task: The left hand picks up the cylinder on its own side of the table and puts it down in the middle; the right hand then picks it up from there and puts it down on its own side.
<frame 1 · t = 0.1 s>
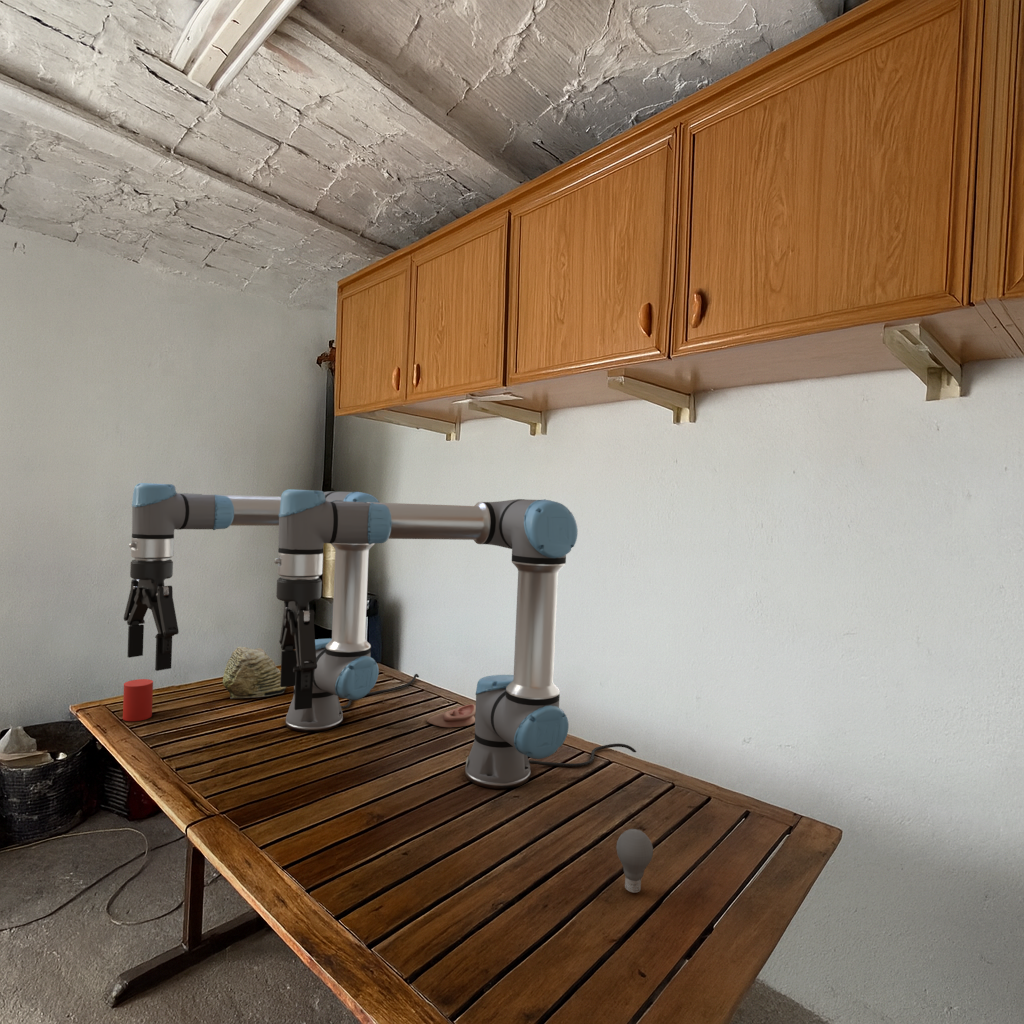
left hand: (148, 662, 129), 28 cm above the table, tool pointing down, fingers open, 13 cm apart
right hand: (295, 696, 112), 28 cm above the table, tool pointing down, fingers open, 13 cm apart
light bulb: (632, 891, 106), on the table
cylinder: (137, 717, 175), on the table
anatomical model: (451, 721, 182), on the table
fossil: (254, 694, 198), on the table
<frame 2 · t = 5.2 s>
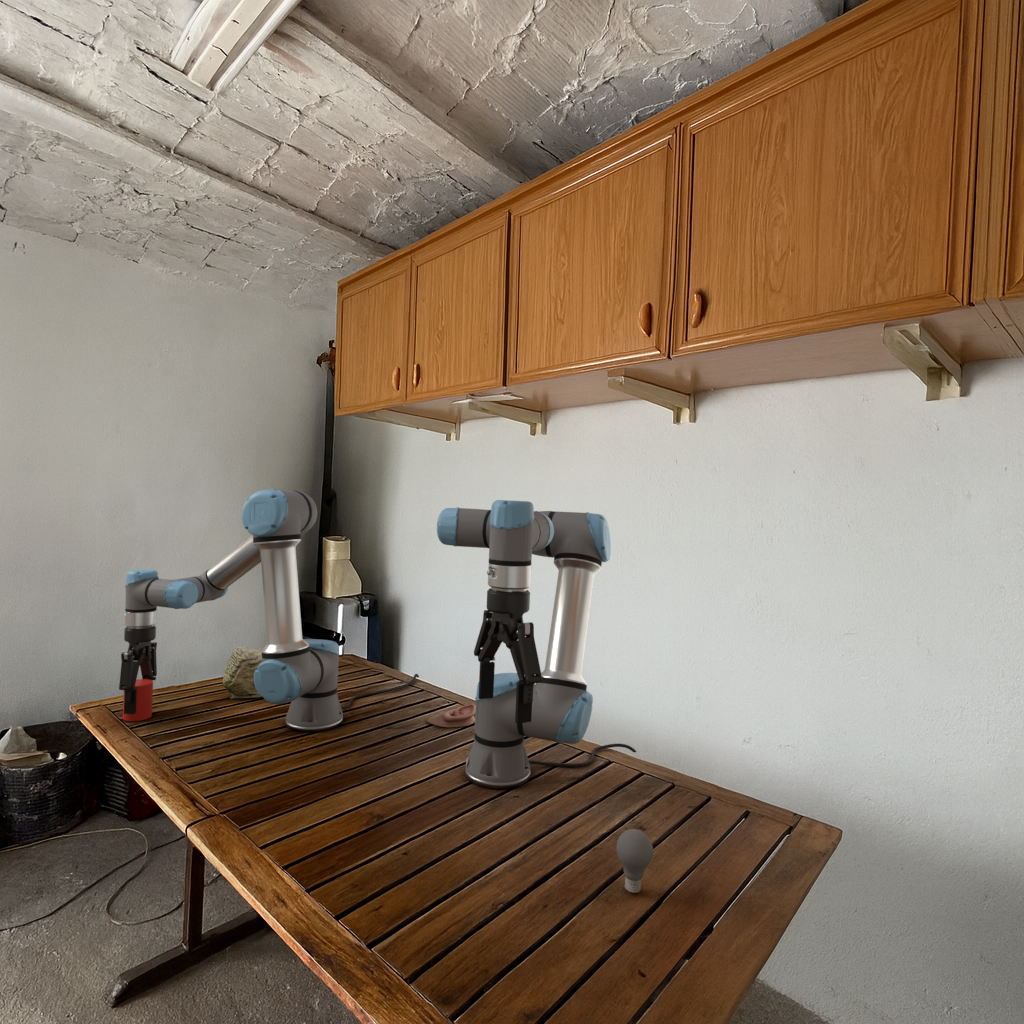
left hand: (137, 708, 175), 2 cm above the table, tool pointing down, fingers closed on cylinder, 7 cm apart
right hand: (503, 709, 111), 28 cm above the table, tool pointing down, fingers open, 13 cm apart
cylinder: (137, 717, 175), on the table, touching left hand
everything else where it was.
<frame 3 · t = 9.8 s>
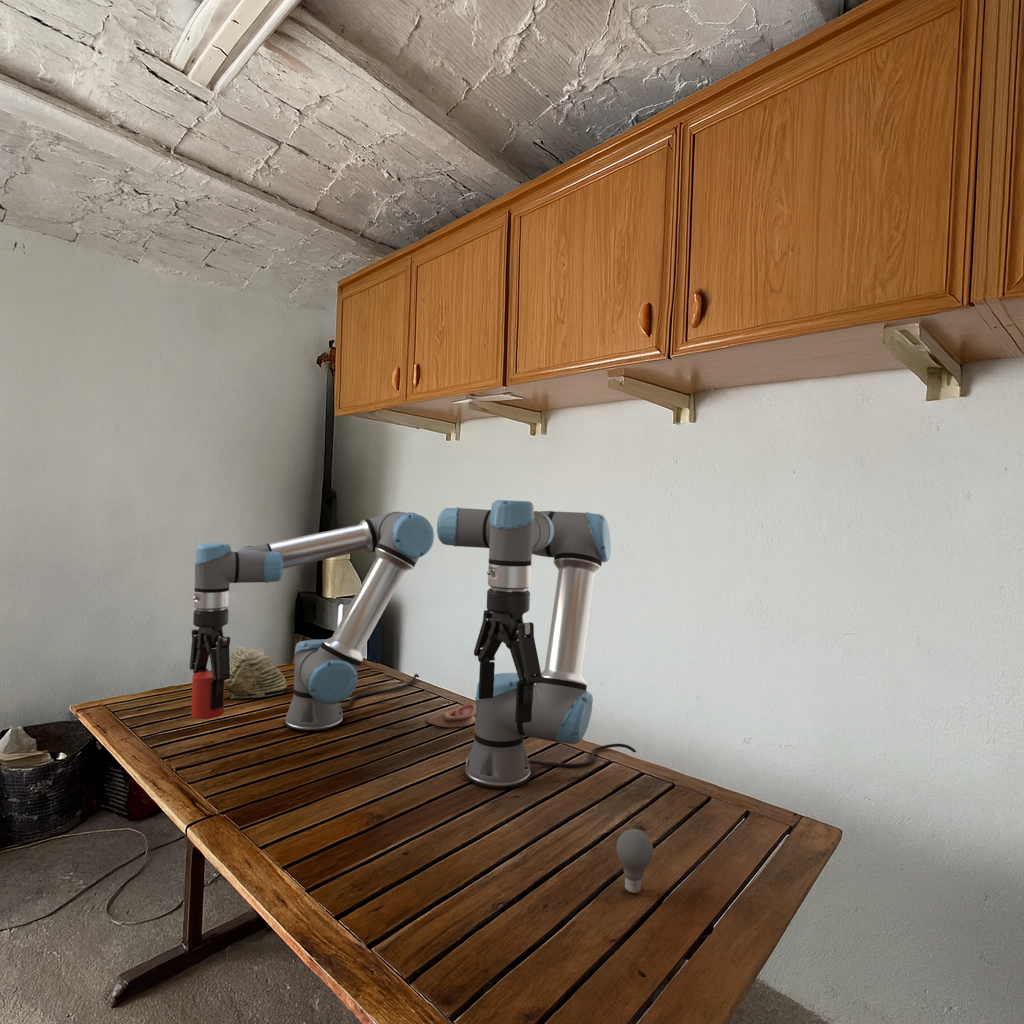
left hand: (208, 704, 151), 13 cm above the table, tool pointing down, fingers closed on cylinder, 7 cm apart
right hand: (503, 709, 111), 28 cm above the table, tool pointing down, fingers open, 13 cm apart
cylinder: (207, 714, 151), point 10 cm above the table, touching left hand
everything else where it was.
when the left hand's fingers open (4 cm above the table, at t = 14.4 s): cylinder drops 1 cm, on the table.
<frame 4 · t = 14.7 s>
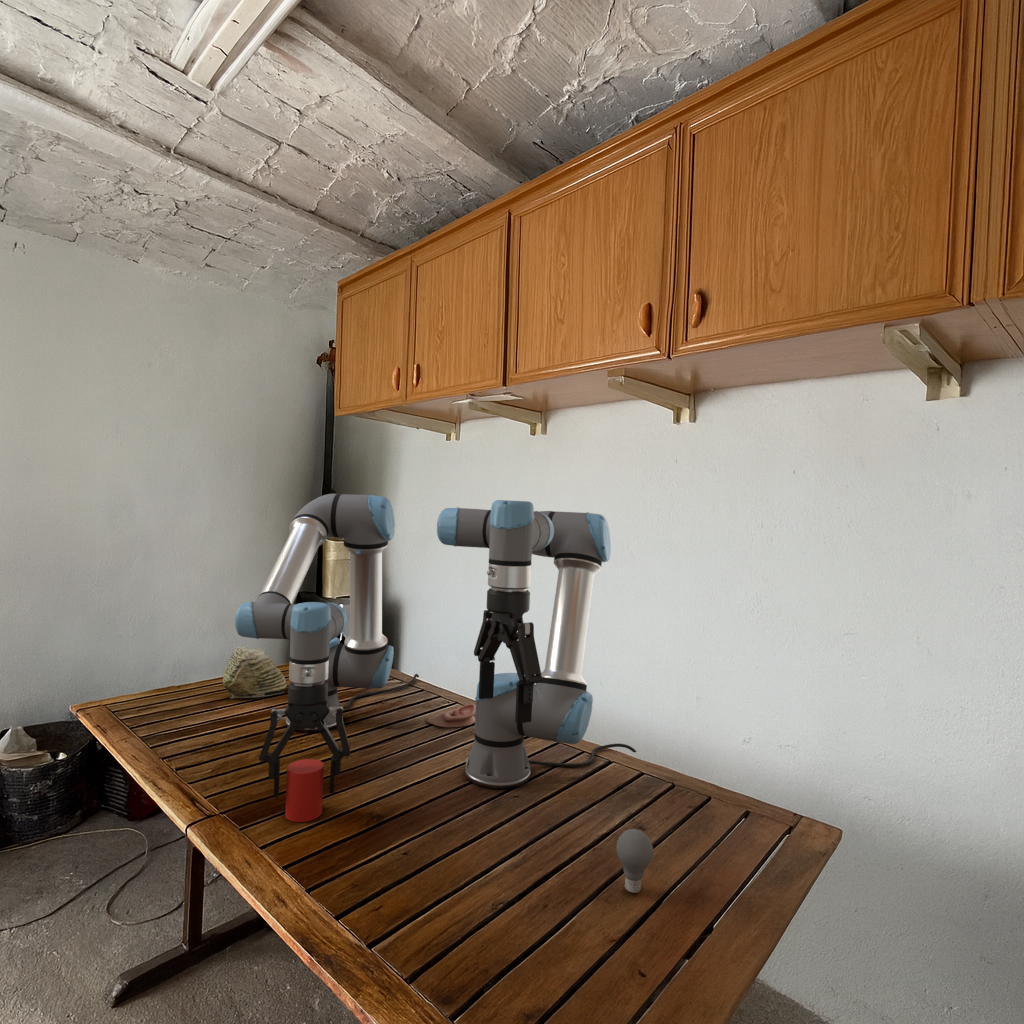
left hand: (304, 792, 126), 4 cm above the table, tool pointing down, fingers open, 10 cm apart
right hand: (503, 709, 111), 28 cm above the table, tool pointing down, fingers open, 13 cm apart
cylinder: (303, 813, 127), on the table
everything else where it was.
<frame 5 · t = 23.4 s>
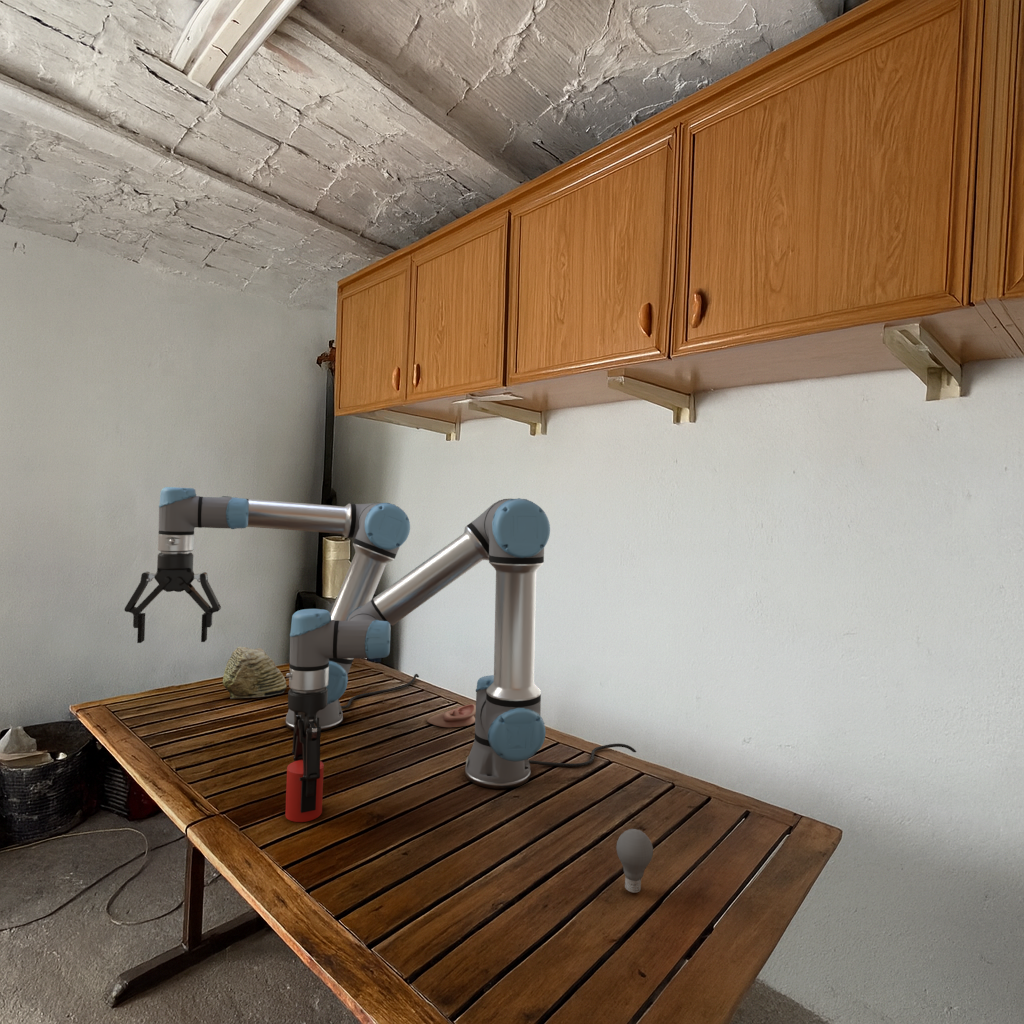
left hand: (172, 641, 151), 27 cm above the table, tool pointing down, fingers open, 13 cm apart
right hand: (304, 801, 127), 2 cm above the table, tool pointing down, fingers closed on cylinder, 7 cm apart
cylinder: (303, 813, 127), on the table, touching right hand
everything else where it was.
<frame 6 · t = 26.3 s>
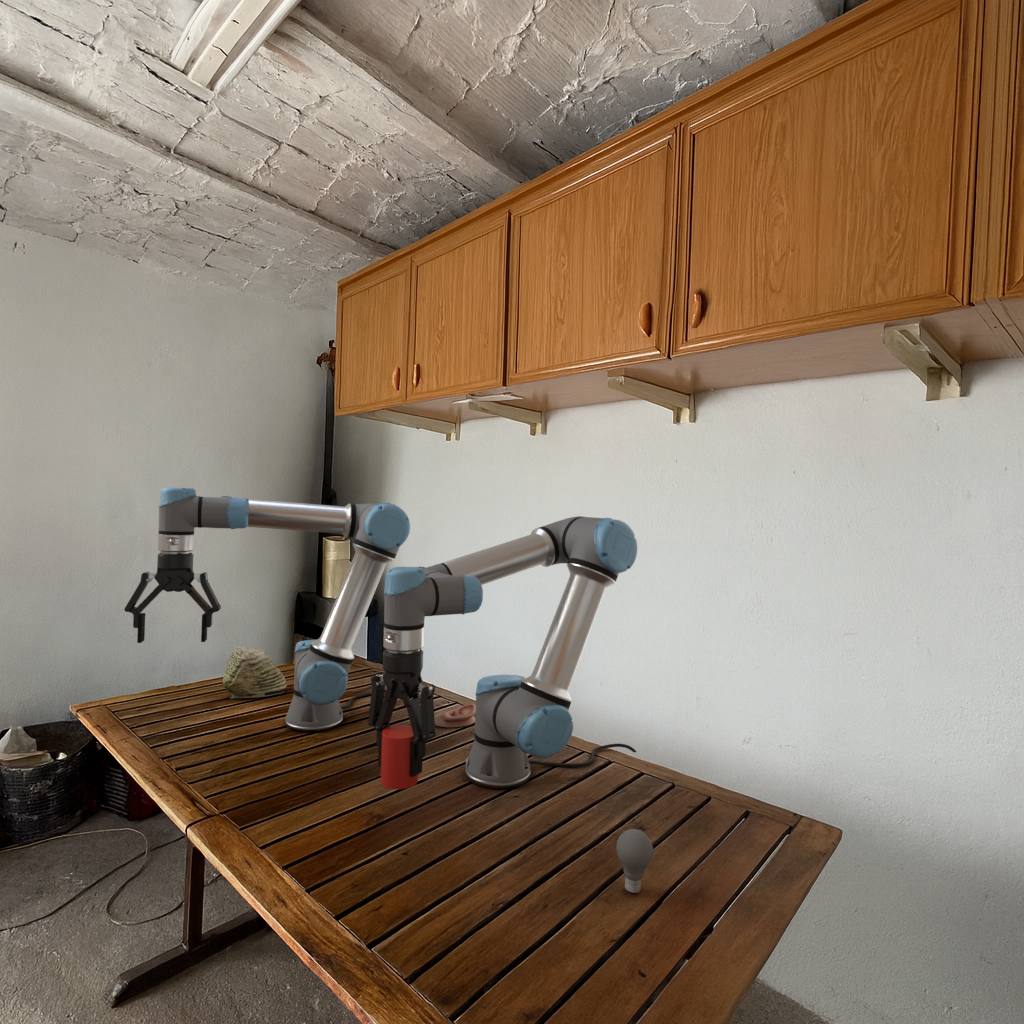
left hand: (172, 641, 151), 27 cm above the table, tool pointing down, fingers open, 13 cm apart
right hand: (399, 768, 120), 12 cm above the table, tool pointing down, fingers closed on cylinder, 7 cm apart
cylinder: (399, 781, 120), point 10 cm above the table, touching right hand
everything else where it was.
when the right hand's fingers open (4 cm above the table, at t = 29.2 s): cylinder drops 1 cm, on the table.
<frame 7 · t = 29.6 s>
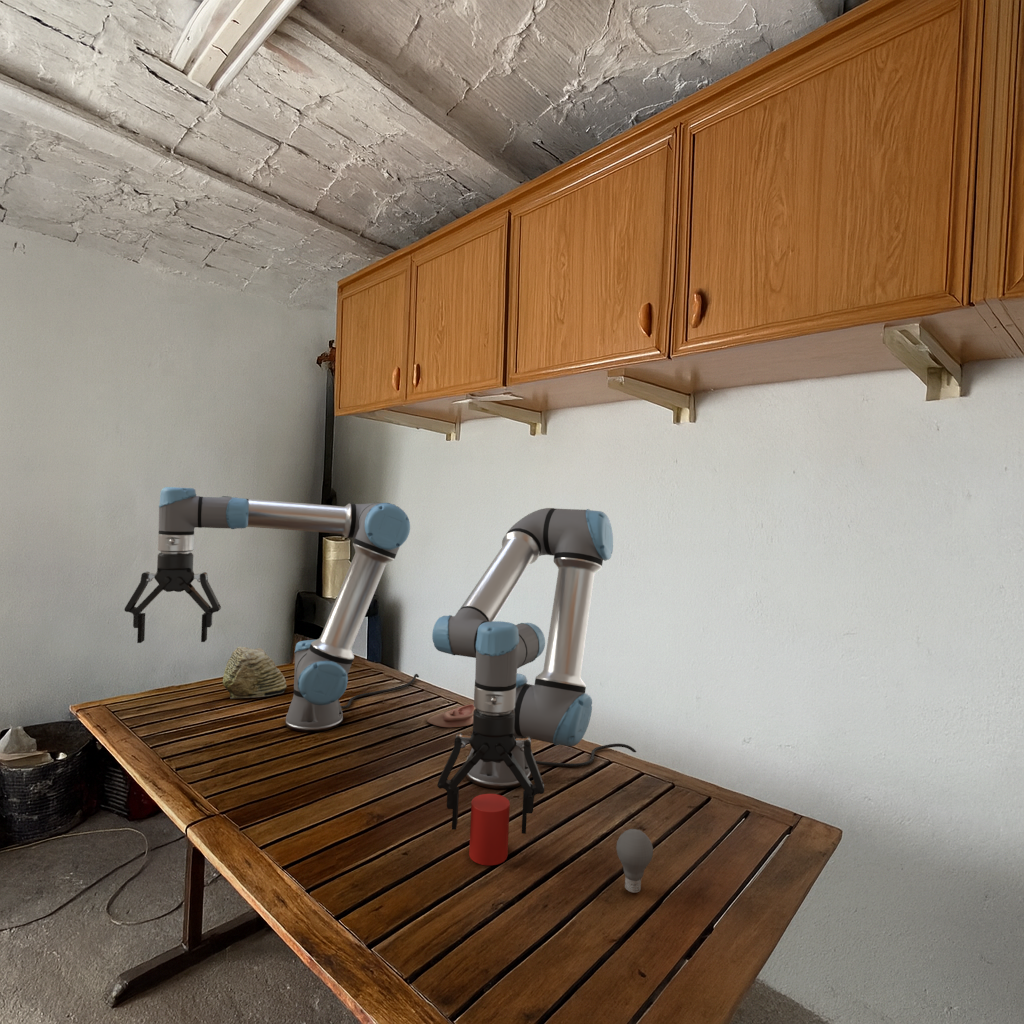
left hand: (172, 641, 151), 27 cm above the table, tool pointing down, fingers open, 13 cm apart
right hand: (489, 828, 115), 5 cm above the table, tool pointing down, fingers open, 12 cm apart
cylinder: (488, 854, 115), on the table
everything else where it was.
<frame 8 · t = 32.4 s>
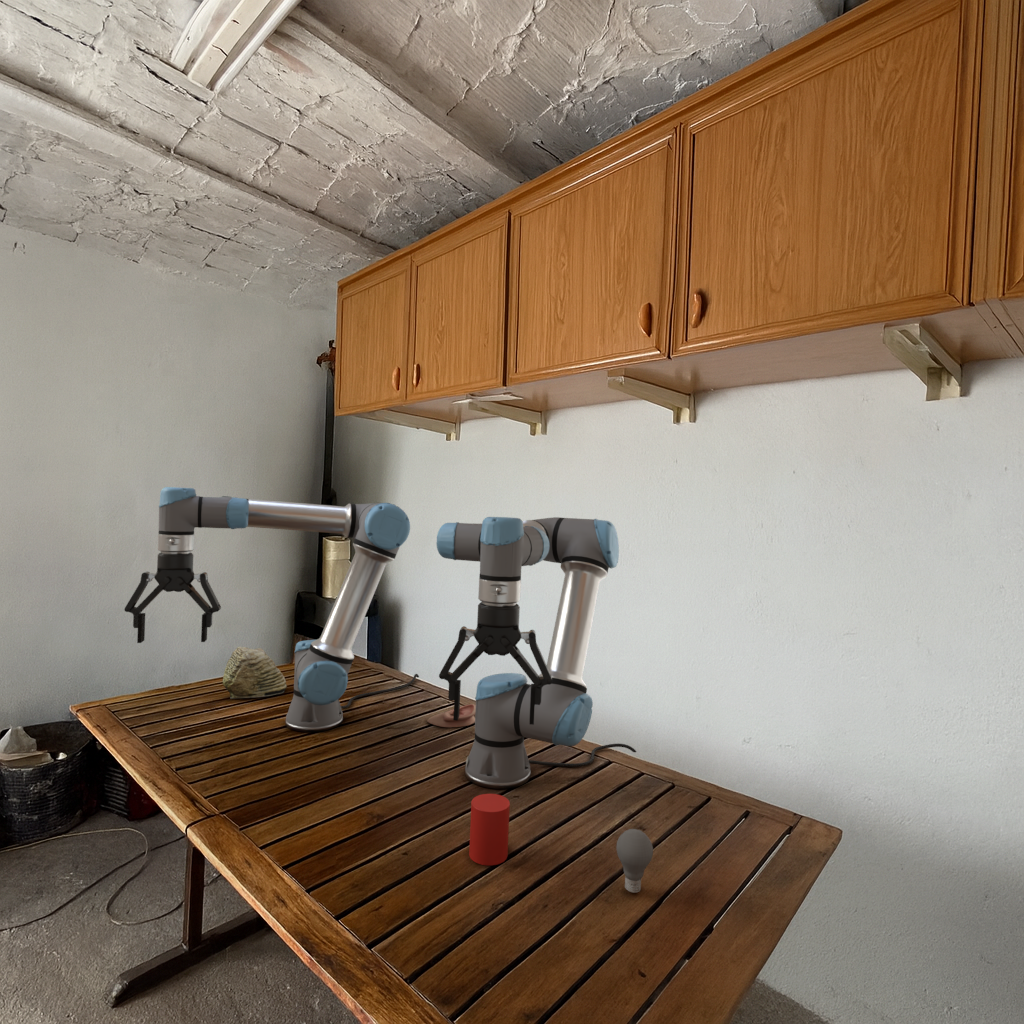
left hand: (172, 641, 151), 27 cm above the table, tool pointing down, fingers open, 13 cm apart
right hand: (493, 720, 114), 25 cm above the table, tool pointing down, fingers open, 13 cm apart
nothing on the table moved.
at the end: cylinder inside the target area (0.1 cm from its centre), on the table; cylinder tilted 0°; the two hands never held the cylinder at the same time; the left hand is holding nothing; the right hand is holding nothing; cylinder at rest at the end (0.0 cm/s) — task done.
